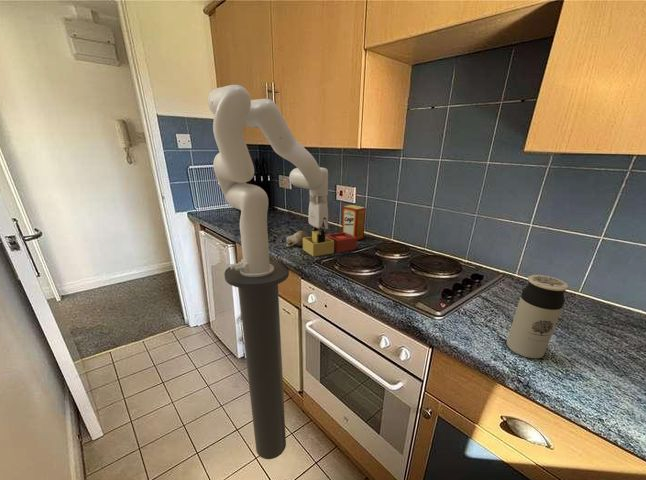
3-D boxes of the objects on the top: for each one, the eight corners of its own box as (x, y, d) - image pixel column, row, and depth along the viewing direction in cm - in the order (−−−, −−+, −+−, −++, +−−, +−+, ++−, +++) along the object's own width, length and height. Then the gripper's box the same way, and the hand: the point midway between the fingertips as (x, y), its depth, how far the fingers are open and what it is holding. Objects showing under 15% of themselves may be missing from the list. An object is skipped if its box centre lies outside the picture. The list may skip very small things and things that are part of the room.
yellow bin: (313, 256, 127) (313, 244, 125) (302, 249, 135) (302, 237, 133) (333, 253, 132) (334, 241, 130) (322, 246, 140) (322, 235, 138)
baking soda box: (341, 236, 156) (342, 205, 149) (350, 234, 160) (351, 204, 153) (355, 240, 150) (357, 208, 143) (363, 238, 154) (365, 207, 147)
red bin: (337, 252, 133) (337, 240, 131) (326, 245, 141) (326, 234, 139) (356, 249, 138) (357, 237, 136) (344, 243, 146) (344, 232, 144)
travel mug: (504, 335, 78) (524, 271, 70) (540, 343, 75) (564, 278, 68) (507, 353, 71) (530, 285, 64) (547, 363, 68) (575, 292, 61)
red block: (339, 248, 136) (339, 239, 135) (334, 245, 140) (334, 236, 138) (347, 247, 138) (348, 238, 137) (342, 244, 142) (342, 235, 140)
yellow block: (316, 243, 129) (316, 233, 127) (312, 241, 133) (311, 231, 131) (325, 242, 131) (325, 232, 130) (320, 239, 135) (320, 230, 133)
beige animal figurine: (288, 241, 145) (299, 224, 142) (303, 253, 143) (314, 236, 140) (280, 242, 139) (291, 224, 135) (296, 254, 136) (307, 236, 133)
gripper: (301, 196, 129) (302, 237, 137) (320, 203, 116) (320, 248, 124) (317, 195, 133) (317, 235, 140) (337, 202, 120) (336, 245, 127)
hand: (318, 241), depth 132 cm, fingers closed on yellow block, 4 cm apart
